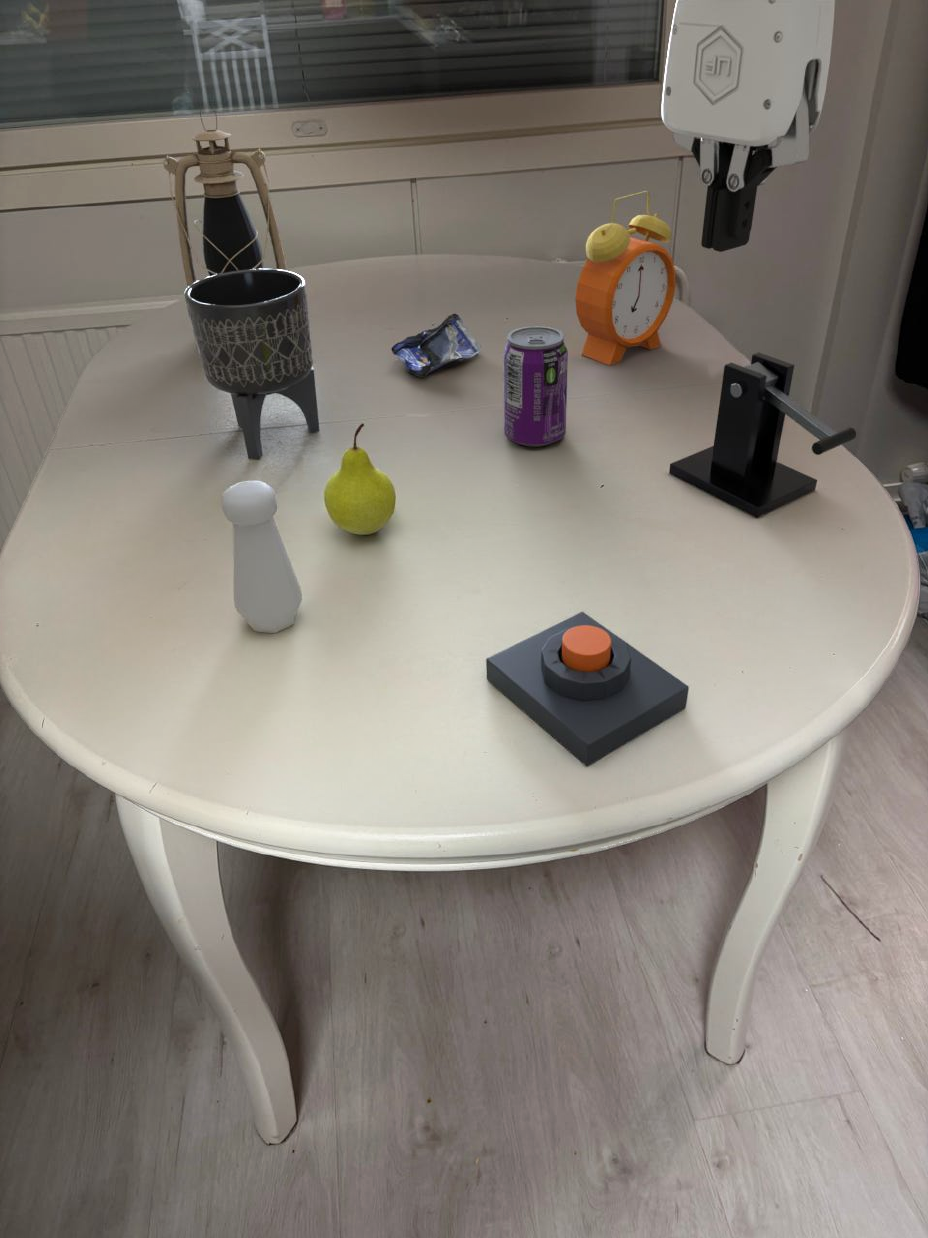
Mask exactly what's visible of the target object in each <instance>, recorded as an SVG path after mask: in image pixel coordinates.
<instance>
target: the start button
mask: <svg viewBox="0 0 928 1238" xmlns="http://www.w3.org/2000/svg"><path fill="white" fill-rule="evenodd" d="M610 652H611V638H610V636H609V635H608V633H607V632H605V631H604V630H603V629H601V628H598V627H595V626H589V625H582V626H576V627H573V628H571V629H569V630H568V631H567V632H566V633H565V634H564V636H563V639H562V660H563V662H564V664H565V665H566V666H567V667H568V668H570V669H572V670H576V671H580V672H584V673H586V672H596V671H600V670H602V669H604V668H605V667H606V666H607V665H608V663H609V661H610Z"/></svg>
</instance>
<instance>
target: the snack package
mask: <svg viewBox="0 0 928 1238" xmlns="http://www.w3.org/2000/svg"><path fill="white" fill-rule="evenodd" d="M434 325H435V322H433V323H432V324H431V327H432V326H434ZM481 350H482V345H481V344H480V343H479V342H477V340H476V338H475V336H474V335H473V334H472V333H471V331H470V330H469V329H468V328H467V326H466V325H465V323H464V321H463V319H462V318H461V317H460V315H458V314H457V313H452V314H450V315H448V316H447V317H446V318H445V319H444V320H443V321H442V323H440V324H439V325H438V326H436V327H434V328H432V329H425V330H423V331H420V332H419V333H417V334H415V335H411V336H407V337H406V338H404V339H403V340H401V341H399V342H397V343H396V344H394V345H393V346H392V347H391V349H390V351H391V352H392V354H393V355H394V356H397V357H398V358H399V359H400V360H401V362H402V363H403V365H404V366H405V369H406V370H407V372H408V374H412V375H415V376H417V377H419V378H424V377H426V376H427V375H428V374H429V373H431V372H434V371H435V370H437V369H439V368H442V367H443V366H444V365H446V364H447V363H450V362H454V361H457V360H466V359H469V358H472V357H475V356H476V355H477V354H478V353H480V352H481ZM395 361H398V359H395Z"/></svg>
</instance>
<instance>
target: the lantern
mask: <svg viewBox="0 0 928 1238" xmlns="http://www.w3.org/2000/svg"><path fill="white" fill-rule="evenodd" d="M207 108H208V109H211V110H213V112H214V115H215V124H216V126H215V127H216V128H213V129H206V128H205V126H204V122H203V119H202V111H203V110H205V109H207ZM199 116H200V117H199V118H200V121H201V124H202V127H203V130H204V131H200V132H199V133H197V134H196V135H193V136H191V138H190V139H191V140H192V141H195V145H196V149H197V150H196V151H197V153H196V154H189V155H185V156H183V157H182V158H180V159H179V160H178V159H176V158H174V157H172V156H169V155H167V154H166V157H165V159H164V160H163V162H162V164H163V165H162V166H163V168H164V169H165V170H166V171H167V172H168V178H169V187H170V188H169V189H170V197H171V200H172V203H173V206H174V209H175V211H176V212H175V213H176V223H177V231H178V240H179V246H180V254H181V260H182V261H181V262H182V267H183V272H184V277H185V278H184V279H185V282H186V286H187V288H188V287H189V286H190V285H192V284H193V283H195V282H197V278H196V272H195V266H194V260H193V255H194V258H195V259H196V261H197V263H198V265H199V266H201V267H202V268H203V269H204V270H206V271H207V273H208V275H209V277H210V276H213V275H216V274H221V273H225V272H231V271H237V270H247V269H264V259H265V256H266V251H267V245H268V237H269V238H270V243H271V246H272V247H271V248H272V251H273V256H274V260H275V266H276V267H275V268H276V270H284V271H288V267H287V262H286V256H285V251H284V247H283V242H282V238H281V233H280V229H279V226H278V220H277V218H276V213H275V210H274V206H273V202H272V199H271V196H270V195H271V194H270V189H269V188H270V187H269V185H270V180H269V176H268V173H267V168H266V165H265V163H266V154H265V152H263V151H262V150H261V148H258V150H255V151H254V152H252V154H250V153H247V152H244V151H232V150H231V149H230V143H229V138H230V137H232V134H231V133H230V132H226V131H225V132H224V131H222V130H219V129H218V115H217V112H216V110H215V109H214V108H213V107H211V106H203V107H202V108H201V109H200V111H199ZM221 140H224V146H223V145H217V141H221ZM201 142H208V144H209V146H206V147H203V146H202V145H201ZM234 164H242V165H245V166H246V167H247V169H249V171H250V175H251V177H252V179H253V182H254V184H255V188H256V191H257V194H258V197H259V201H260V203H261V207H262V211H263V215H264V218H265V222H266V235H265V236H266V237H265V245H264V249H263V251H262V247H261V244H260V240H259V237H258V235H259V233H258V230H257V228H256V227H255V226H254V224H253V221H252V219H251V217H250V214H249V210H248V209H247V207H246V205H245V202H244V200H243V198H242V195H241V194H240V193H241V190H240V189H238V183H237V182H238V180H240V179H242V178H244V173H243V172H241V171H237V170H236V169H235V165H234ZM262 166H263V169H264V173H265V177H266V179H265V177H264V174H263V172H262V170H261V167H262ZM194 167H199V171H200V173H199V174H197V175H196V176H194V177H193V181H194V182H195V183H199V184H202V186H203V191H204V192H203V194H202V195H203V196H204V198H203V211H202V220H198V219H196V220H195V219H194V222H193V224H194V227H195V228H196V230H197V231H198V232H199V233H200V234H201V236H202V252H203V260H204V263H205V266H204V265H203V264H202V263H201V262H200V261H199V259H198V257H197V255H196V253H195V251H194V248H193V246H192V244H191V240H190V239H191V238H190V230H189V219H188V209H187V208H188V207H187V194H186V193H187V192H186V185H187V183H186V182H187V181H186V180H187V178H186V177H187V172H188V171H189V169H190V168H194ZM171 174H172V175H173V176H174V196H173V185H172V176H171ZM266 181H267V182H266ZM196 222H199V223H201V224H202V232H201V230H200V229H199V228H198V227H197V223H196ZM192 253H193V254H192Z"/></svg>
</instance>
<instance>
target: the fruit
mask: <svg viewBox="0 0 928 1238" xmlns="http://www.w3.org/2000/svg"><path fill="white" fill-rule="evenodd" d="M363 427H365V424H364V423H363V422H362V423H361V424H359V425H358V427H357V429H356V430H355V433H354V437H353V446H351V447H349V448H348V449H346V450H345V451H344V453H343V455H342V458H341V464H340V468H339V469H338V470H337V471H336V472H335V473H333V474H332V475H331V476H330V477H329V479H328V480H327V482H326V484H325V488H324V492H323V496H324V497H323V500H324V506H325V509H326V511H327V514H328V516H329V518H330V519H331V521H332V522H333V523H334V524H335V526H337V527H338V528H340V529H342V530H343V531H346V532H348V533H349V534H350V533H351V534H354V535H360V536H362V535H363V536H365V535H372V534H374V533H377V532H378V531H379V530H380V529H381V528H383V527H384V526H385V525H386V524H387V523H388V522H389V521H390V519H392V516H393V515H394V514H395V513H394V512H395V508H396V501H397V500H396V499H397V496H396V490H395V486H394V484H393V482H392V480H391V479H390V478H389V476H388V475H387V474H386V473H385V472H384V471H383V470H380V469H378V468H376V467H374V465H373V463H372V461H371V459H370V456H369V454H368V452H367V451H366V449H364V448H362V447H360V446H357V437H358V435H359V433H360V432H361V430H362V429H363Z"/></svg>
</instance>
